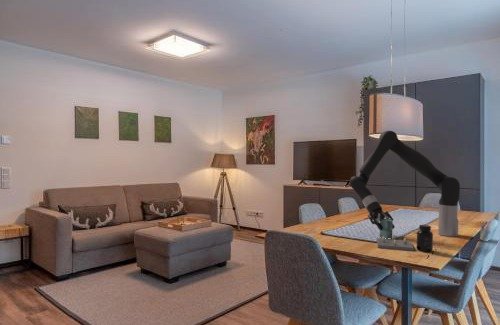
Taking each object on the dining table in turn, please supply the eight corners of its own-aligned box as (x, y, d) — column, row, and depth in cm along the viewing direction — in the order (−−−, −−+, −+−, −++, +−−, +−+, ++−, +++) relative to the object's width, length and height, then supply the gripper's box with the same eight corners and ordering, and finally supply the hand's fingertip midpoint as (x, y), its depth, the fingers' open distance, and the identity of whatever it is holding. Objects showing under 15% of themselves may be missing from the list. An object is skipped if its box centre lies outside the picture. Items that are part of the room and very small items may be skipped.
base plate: (409, 243, 176) (410, 235, 176) (413, 251, 163) (413, 242, 162) (376, 240, 181) (376, 233, 181) (377, 247, 168) (377, 239, 167)
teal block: (385, 237, 190) (385, 219, 190) (392, 238, 186) (392, 220, 186) (379, 237, 188) (380, 219, 188) (386, 239, 184) (386, 221, 184)
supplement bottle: (413, 248, 167) (414, 224, 166) (427, 248, 167) (427, 224, 167) (421, 252, 160) (422, 227, 160) (435, 252, 160) (436, 227, 160)
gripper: (366, 201, 190) (382, 226, 180) (384, 200, 196) (401, 223, 186) (359, 209, 195) (374, 234, 185) (377, 208, 201) (393, 231, 191)
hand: (387, 229), depth 186 cm, fingers open, 8 cm apart
